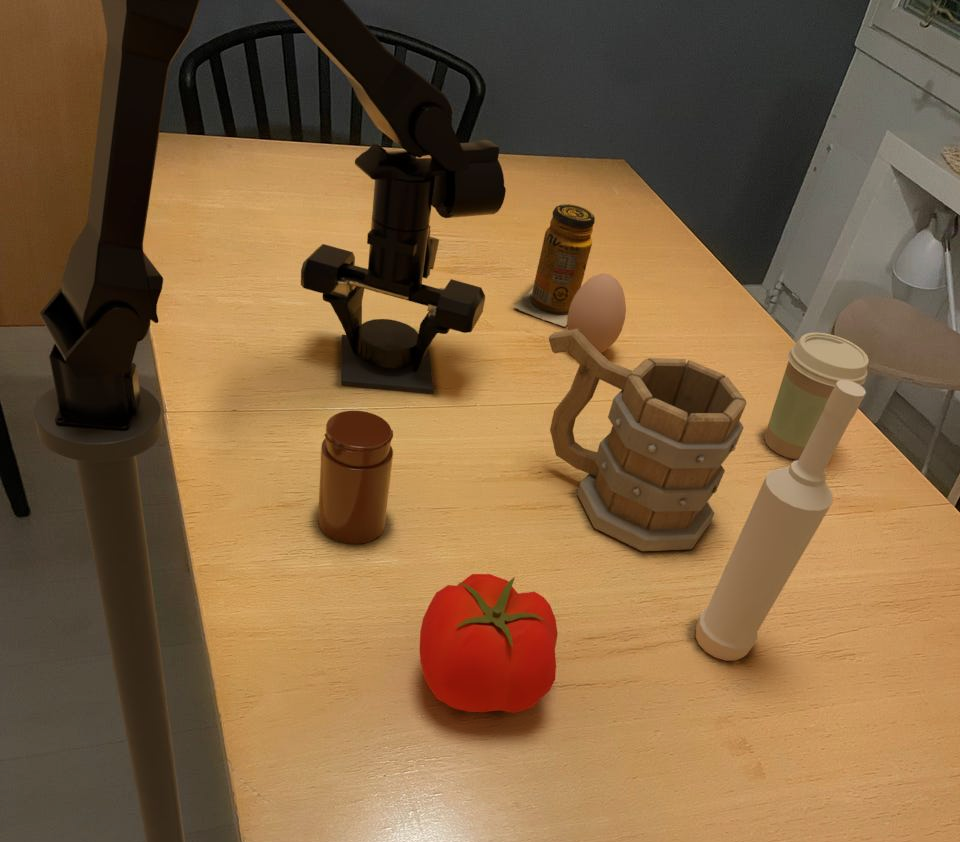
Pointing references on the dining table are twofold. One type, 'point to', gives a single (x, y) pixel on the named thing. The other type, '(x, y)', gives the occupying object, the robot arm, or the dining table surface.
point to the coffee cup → (811, 388)
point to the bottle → (775, 535)
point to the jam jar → (355, 477)
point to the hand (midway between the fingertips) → (386, 361)
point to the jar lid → (387, 343)
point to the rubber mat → (384, 373)
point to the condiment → (560, 264)
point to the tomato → (488, 646)
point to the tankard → (649, 444)
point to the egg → (598, 311)
